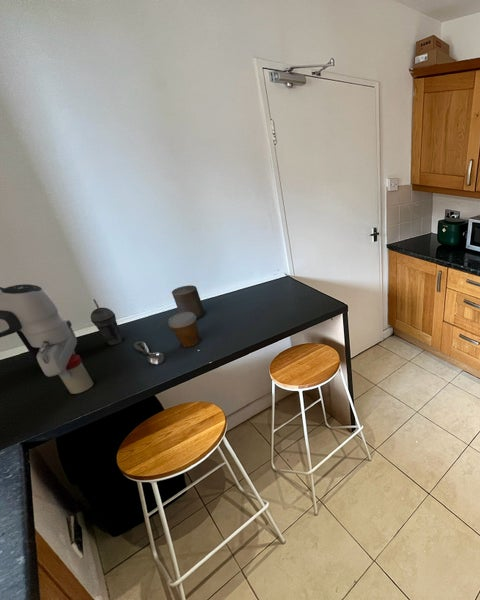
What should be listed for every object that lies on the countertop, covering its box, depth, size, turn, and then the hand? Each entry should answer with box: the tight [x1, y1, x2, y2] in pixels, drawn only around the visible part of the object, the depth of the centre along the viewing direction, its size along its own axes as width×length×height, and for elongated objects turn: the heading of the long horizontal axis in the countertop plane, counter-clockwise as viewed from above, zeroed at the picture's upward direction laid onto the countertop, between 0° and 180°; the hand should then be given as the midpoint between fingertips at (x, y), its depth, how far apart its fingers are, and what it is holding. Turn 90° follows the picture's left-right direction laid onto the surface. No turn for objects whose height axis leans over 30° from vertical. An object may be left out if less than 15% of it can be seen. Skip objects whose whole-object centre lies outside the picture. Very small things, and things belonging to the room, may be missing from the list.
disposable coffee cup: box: [167, 312, 201, 348], centre depth 125 cm, size 10×10×12 cm
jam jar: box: [58, 361, 95, 395], centre depth 102 cm, size 6×6×11 cm
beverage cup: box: [90, 299, 123, 346], centre depth 124 cm, size 7×7×20 cm
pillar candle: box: [171, 284, 206, 320], centre depth 144 cm, size 10×10×15 cm
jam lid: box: [66, 353, 83, 370], centre depth 100 cm, size 7×7×2 cm
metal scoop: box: [133, 340, 164, 365], centre depth 120 cm, size 20×4×5 cm
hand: (71, 370), depth 102 cm, fingers open, 7 cm apart
